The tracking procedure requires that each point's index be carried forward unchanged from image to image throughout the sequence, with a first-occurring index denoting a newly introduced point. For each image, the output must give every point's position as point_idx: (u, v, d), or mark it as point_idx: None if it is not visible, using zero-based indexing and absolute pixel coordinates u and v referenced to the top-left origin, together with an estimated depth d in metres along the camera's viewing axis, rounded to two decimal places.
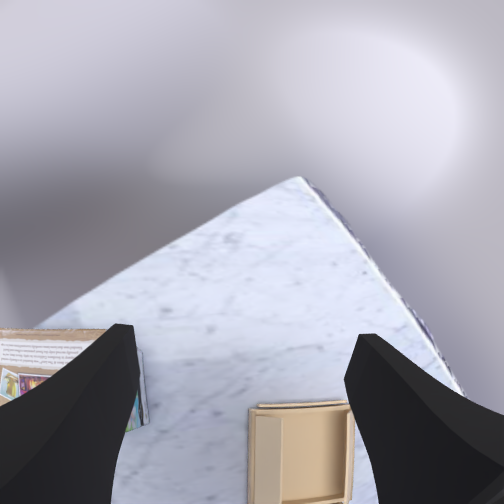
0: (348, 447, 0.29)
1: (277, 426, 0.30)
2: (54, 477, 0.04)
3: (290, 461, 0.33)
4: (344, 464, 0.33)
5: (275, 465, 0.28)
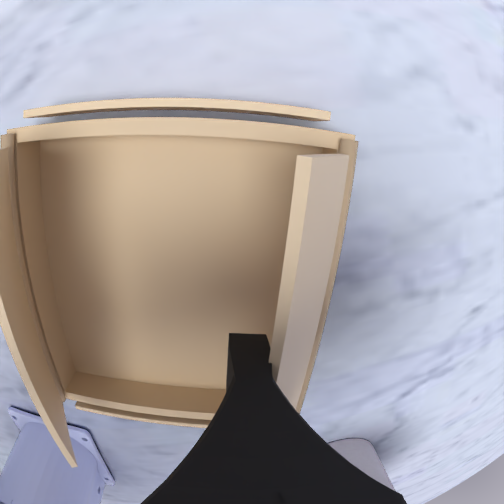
0: (281, 341, 0.07)
1: None
2: None
3: (138, 289, 0.14)
4: None
5: None
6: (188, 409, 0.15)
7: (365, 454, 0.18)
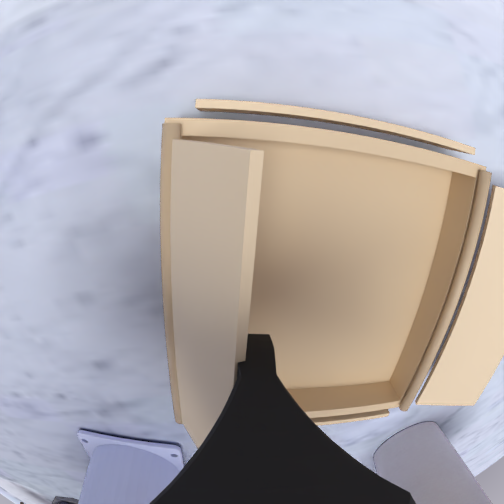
0: None
1: (230, 193, 0.06)
2: None
3: (289, 297, 0.14)
4: (420, 324, 0.15)
5: (218, 365, 0.08)
6: (320, 408, 0.15)
7: (438, 434, 0.19)
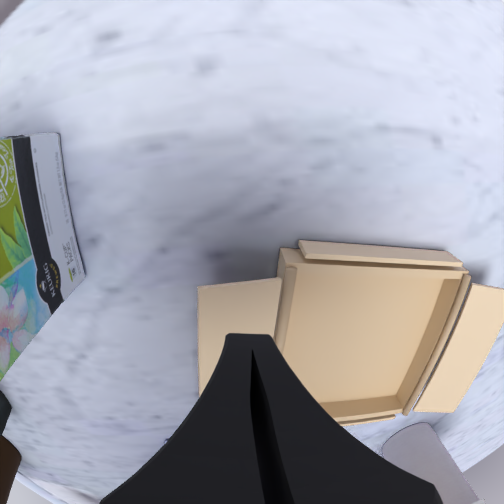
0: None
1: None
2: None
3: (339, 349, 0.22)
4: (417, 360, 0.22)
5: None
6: (352, 414, 0.23)
7: (430, 432, 0.26)
